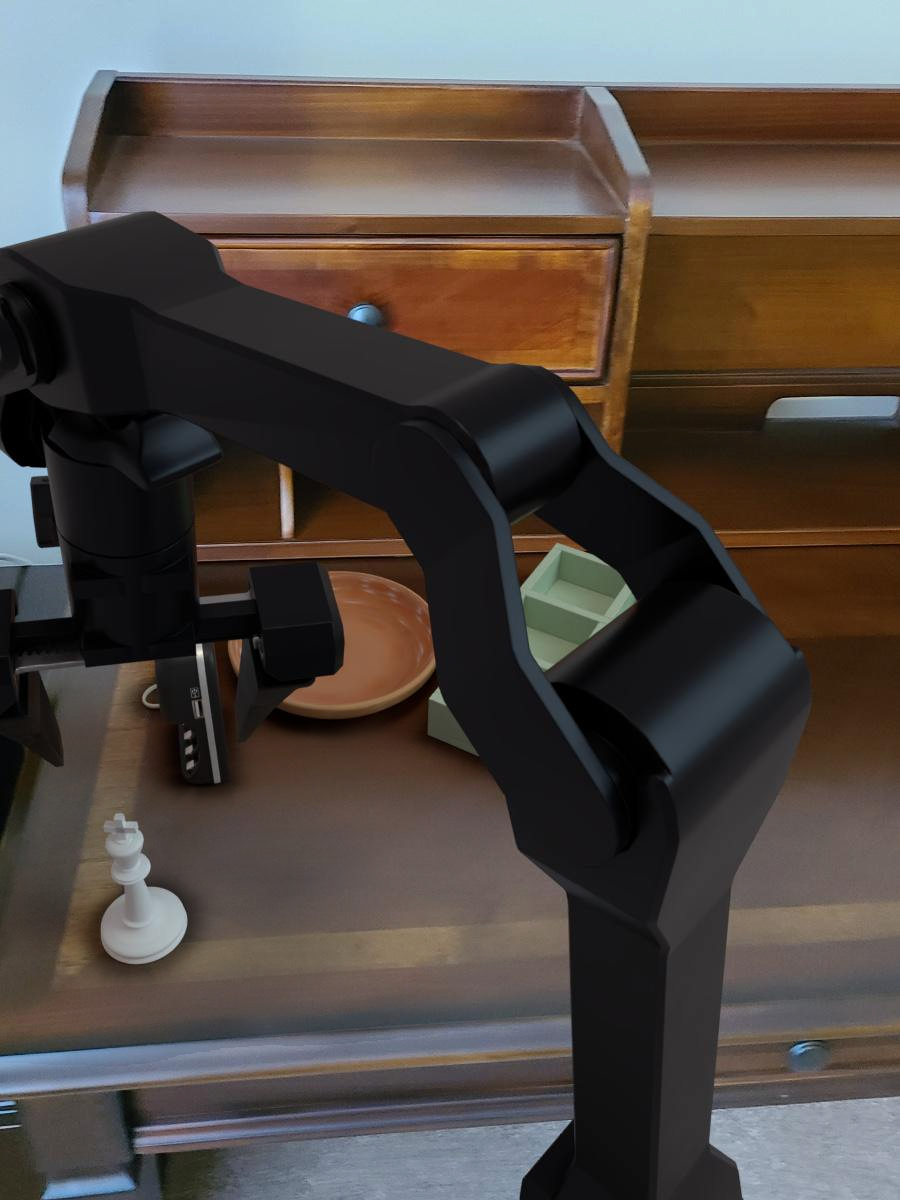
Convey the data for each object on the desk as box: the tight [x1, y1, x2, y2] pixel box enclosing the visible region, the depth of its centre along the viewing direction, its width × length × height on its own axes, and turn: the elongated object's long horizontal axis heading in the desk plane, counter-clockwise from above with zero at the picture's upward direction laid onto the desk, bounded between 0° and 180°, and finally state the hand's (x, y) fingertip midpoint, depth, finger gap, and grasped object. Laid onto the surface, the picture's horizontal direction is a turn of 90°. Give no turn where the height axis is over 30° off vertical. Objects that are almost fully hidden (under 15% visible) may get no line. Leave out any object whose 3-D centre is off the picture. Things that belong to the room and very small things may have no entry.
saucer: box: [227, 570, 436, 720], centre depth 81 cm, size 16×16×3 cm
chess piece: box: [100, 812, 188, 965], centre depth 60 cm, size 5×5×10 cm
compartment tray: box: [427, 542, 637, 757], centre depth 80 cm, size 22×15×4 cm
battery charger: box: [153, 642, 231, 785], centre depth 70 cm, size 7×4×11 cm, turn 14°
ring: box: [141, 683, 160, 709], centre depth 78 cm, size 3×1×3 cm
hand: (152, 747), depth 56 cm, fingers open, 9 cm apart
